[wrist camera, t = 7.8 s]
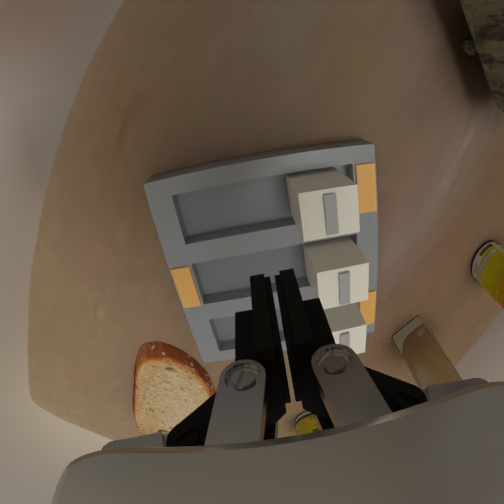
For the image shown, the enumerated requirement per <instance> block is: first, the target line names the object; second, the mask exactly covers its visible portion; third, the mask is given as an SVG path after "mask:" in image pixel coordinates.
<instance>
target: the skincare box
mask: <svg viewBox="0 0 504 504" xmlns="http://www.w3.org/2000/svg"><path fill="white" fill-rule="evenodd" d="M392 338H393V340H394V342H395V343H396V345H397V347H398V349H399V351H400V353H401V355H402V357H403V358H404V360H405V362H406V364H407V366H408V368H409V370H410V372H411V374H412V376H413V378H414V380H415V382H416V384H417V386H418V387H419V388H420V389H426V388H427V385H434V384H441V383H448V382H454V381H460V380H462V378H461V377H460V375H459V373H458V372H457V370H456V369H455V367H454V365H453V364H452V362H451V361H450V359H449V358H448V356H447V355H446V353H445V352H444V350H443V348H442V347H441V345H440V344H439V342H438V341H437V339H436V338H435V336H434V335H433V333H432V332H431V331H430V329H429V328H428V327H427V325H426V324H425V323H424V322H423V321H422V319H421V318H420V317H419V316H417V317H416V318H414V319H413V320H412V321H411V322H410V323H408V324H407V325H406V326H405V327H403V328H402V329H401V330H400V331H398V332H397V333H396V334H395V335H393V337H392Z"/></svg>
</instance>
